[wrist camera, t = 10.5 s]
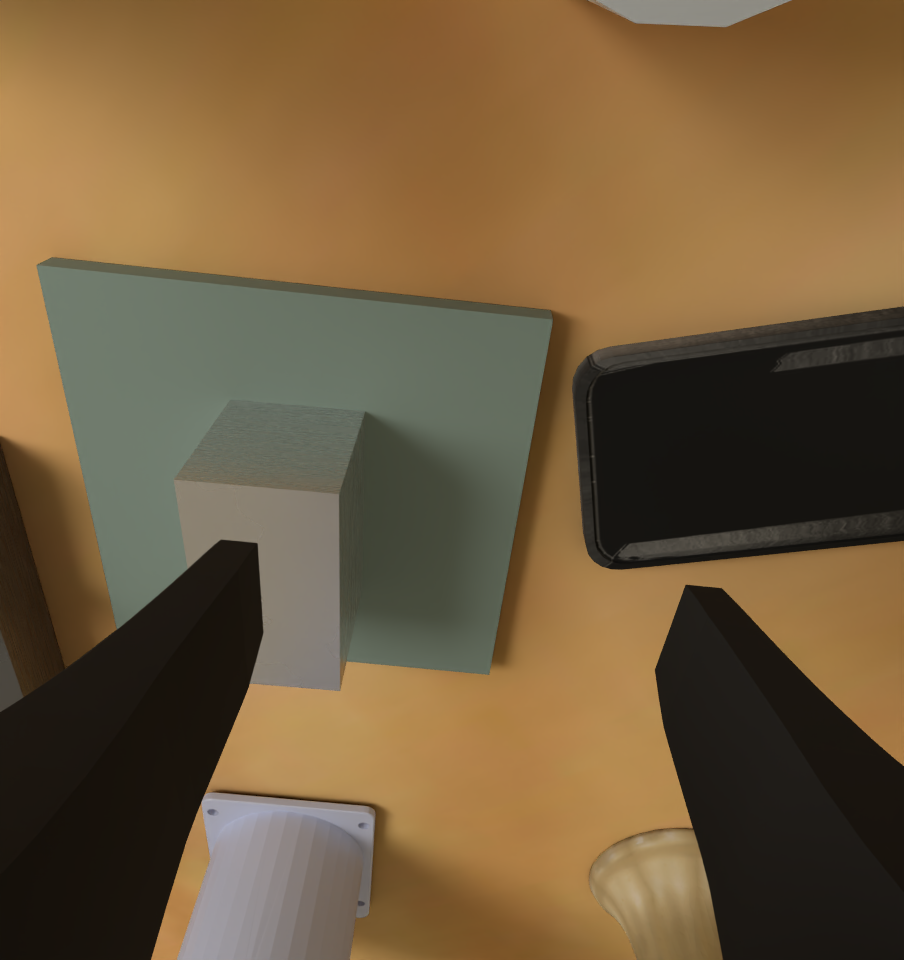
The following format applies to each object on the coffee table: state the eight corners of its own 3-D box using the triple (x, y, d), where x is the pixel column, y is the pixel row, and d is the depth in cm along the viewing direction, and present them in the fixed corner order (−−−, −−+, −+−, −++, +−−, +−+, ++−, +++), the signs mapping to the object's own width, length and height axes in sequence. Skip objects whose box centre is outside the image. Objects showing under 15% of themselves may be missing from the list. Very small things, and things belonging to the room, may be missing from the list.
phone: (1064, 524, 22) (588, 573, 24) (1039, 504, 23) (583, 553, 25) (1155, 279, 18) (572, 359, 20) (1121, 267, 19) (568, 344, 20)
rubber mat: (488, 658, 27) (489, 674, 26) (128, 624, 27) (119, 640, 26) (550, 309, 20) (552, 319, 19) (52, 257, 19) (36, 264, 19)
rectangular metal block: (362, 589, 24) (340, 690, 20) (248, 579, 24) (204, 679, 20) (365, 411, 21) (338, 494, 17) (230, 399, 21) (173, 480, 17)
